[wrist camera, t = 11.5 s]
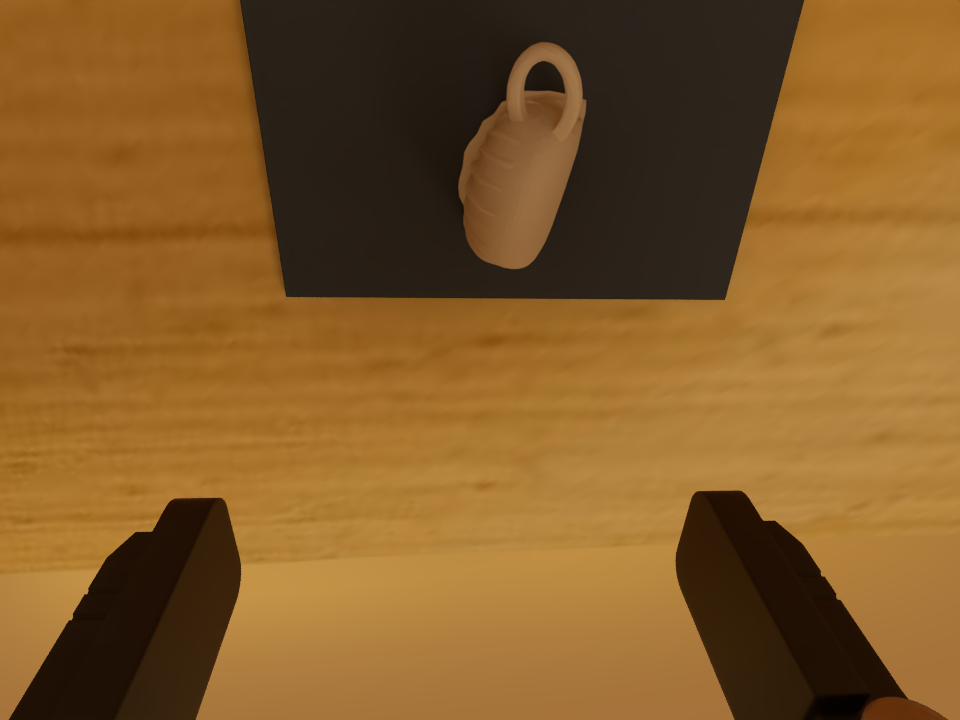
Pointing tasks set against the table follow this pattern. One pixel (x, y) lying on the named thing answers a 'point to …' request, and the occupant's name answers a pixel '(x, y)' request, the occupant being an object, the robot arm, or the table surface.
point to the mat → (476, 96)
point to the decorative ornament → (522, 163)
